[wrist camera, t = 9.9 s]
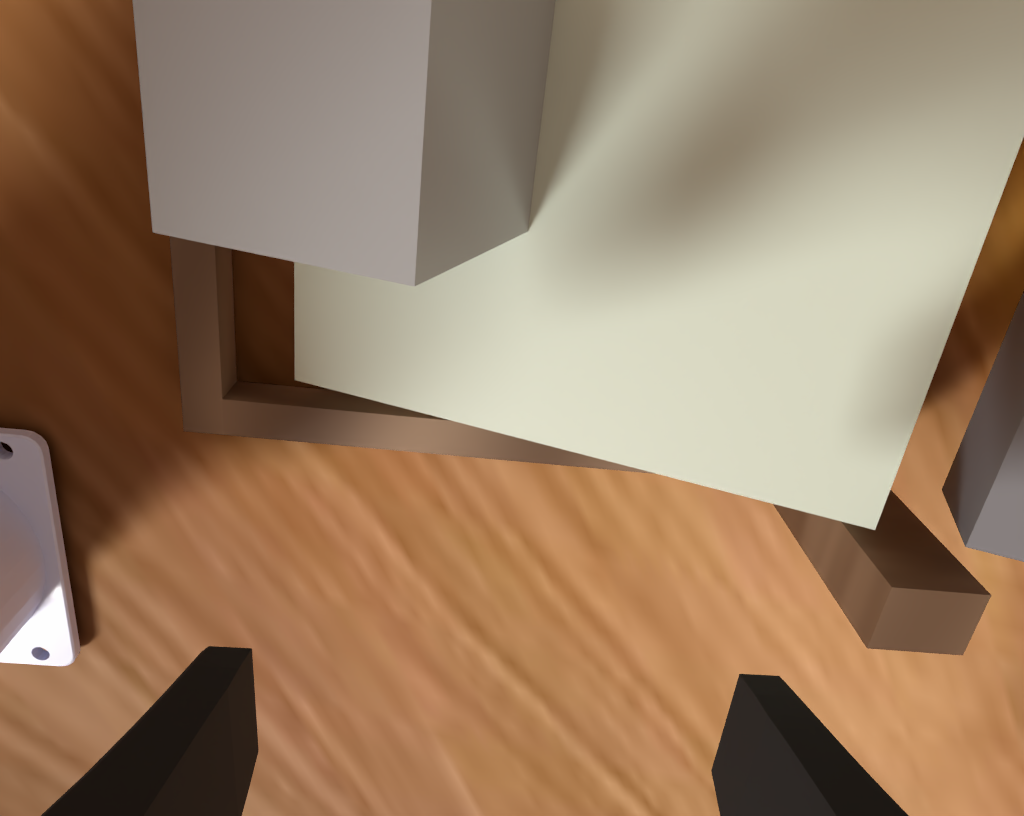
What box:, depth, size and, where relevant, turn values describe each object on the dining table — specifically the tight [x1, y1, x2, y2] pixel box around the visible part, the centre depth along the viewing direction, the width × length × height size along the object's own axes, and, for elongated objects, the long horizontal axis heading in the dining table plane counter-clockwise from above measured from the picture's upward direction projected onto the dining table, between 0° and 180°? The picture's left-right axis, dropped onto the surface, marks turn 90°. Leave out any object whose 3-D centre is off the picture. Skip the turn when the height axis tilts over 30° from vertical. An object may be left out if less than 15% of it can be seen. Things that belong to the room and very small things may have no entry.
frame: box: [170, 236, 991, 655], centre depth 15 cm, size 24×16×7 cm
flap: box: [294, 0, 1024, 562], centre depth 14 cm, size 20×12×2 cm, turn 85°
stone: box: [133, 0, 556, 287], centre depth 13 cm, size 5×5×5 cm
